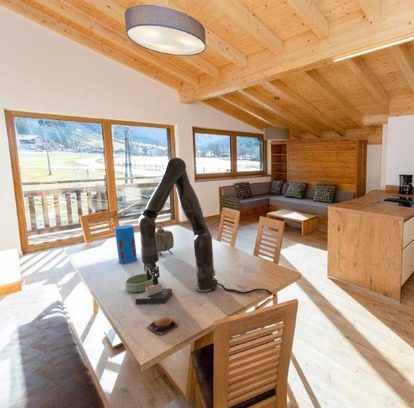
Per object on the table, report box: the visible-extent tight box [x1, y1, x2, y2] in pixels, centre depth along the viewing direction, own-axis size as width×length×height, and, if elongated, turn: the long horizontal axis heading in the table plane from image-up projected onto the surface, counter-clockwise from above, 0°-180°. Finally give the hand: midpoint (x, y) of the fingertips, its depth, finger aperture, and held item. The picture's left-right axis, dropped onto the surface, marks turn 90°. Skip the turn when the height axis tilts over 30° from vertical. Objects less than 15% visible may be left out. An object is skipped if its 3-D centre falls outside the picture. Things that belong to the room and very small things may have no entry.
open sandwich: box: [147, 316, 178, 336], centre depth 122 cm, size 11×8×4 cm
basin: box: [124, 272, 153, 293], centre depth 159 cm, size 15×15×5 cm
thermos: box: [114, 224, 138, 265], centre depth 195 cm, size 11×11×25 cm
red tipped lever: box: [146, 282, 163, 296], centre depth 145 cm, size 7×2×5 cm, turn 139°
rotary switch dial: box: [135, 288, 173, 305], centre depth 146 cm, size 14×11×3 cm
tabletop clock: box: [155, 222, 175, 257], centre depth 207 cm, size 14×9×25 cm, turn 79°
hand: (152, 282), depth 144 cm, fingers open, 8 cm apart
